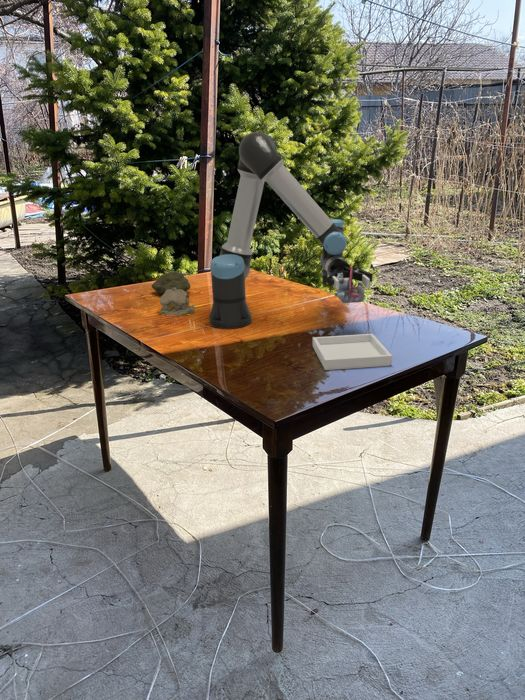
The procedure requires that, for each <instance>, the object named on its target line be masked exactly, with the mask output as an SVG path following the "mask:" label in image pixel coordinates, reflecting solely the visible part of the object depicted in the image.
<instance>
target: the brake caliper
mask: <svg viewBox="0 0 525 700" xmlns="http://www.w3.org/2000/svg"><path fill="white" fill-rule="evenodd" d="M353 269H354V268H353V266H352V265H350V277H349V278H343V273H340V274H339V273H337V275H338V276H337V279H338V280H339V289H337V290H336V288H335V287H334V289H335V293H334V296H335V297H337V298H338V300H339V301H341V303H343V304H350V303H357V304H359V303H361V302H362V301H363V300H364V299H365V289H364V287H363V286H364V285H363V284H362V282H361V281H358V283H357V286H354V281H353V280H354V279H352V274H353V273H352V272H353Z"/></svg>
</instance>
